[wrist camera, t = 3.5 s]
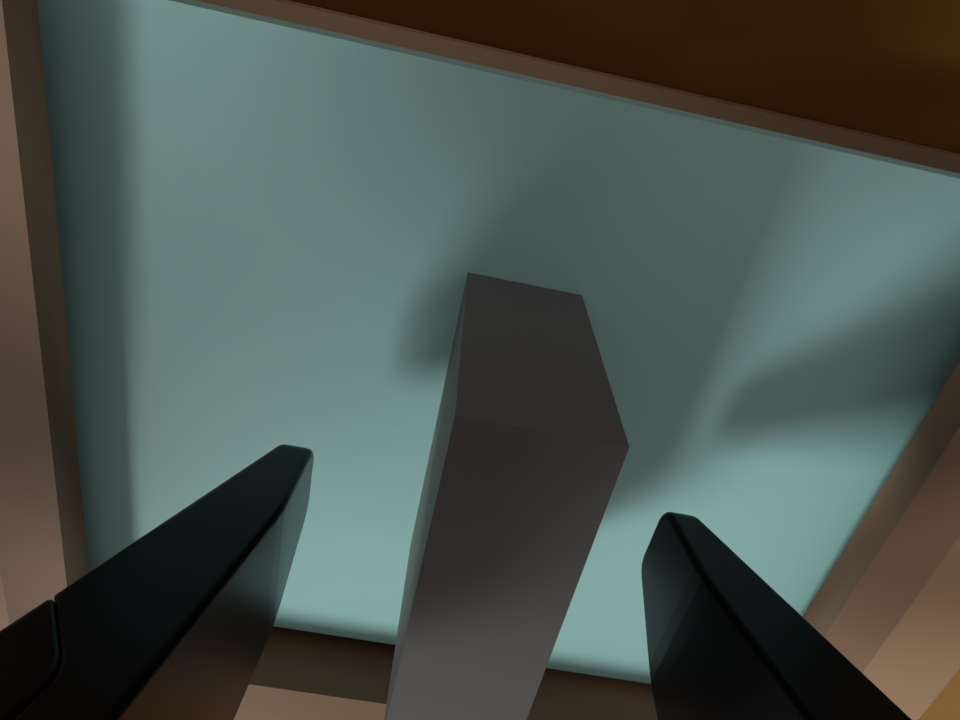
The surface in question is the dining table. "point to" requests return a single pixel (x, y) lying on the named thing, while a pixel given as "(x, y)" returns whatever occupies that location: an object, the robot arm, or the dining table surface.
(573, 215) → the cover plate
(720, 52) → the dining table surface
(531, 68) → the wooden tray
